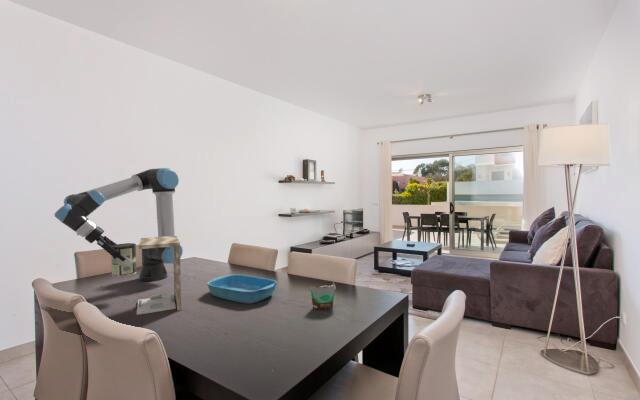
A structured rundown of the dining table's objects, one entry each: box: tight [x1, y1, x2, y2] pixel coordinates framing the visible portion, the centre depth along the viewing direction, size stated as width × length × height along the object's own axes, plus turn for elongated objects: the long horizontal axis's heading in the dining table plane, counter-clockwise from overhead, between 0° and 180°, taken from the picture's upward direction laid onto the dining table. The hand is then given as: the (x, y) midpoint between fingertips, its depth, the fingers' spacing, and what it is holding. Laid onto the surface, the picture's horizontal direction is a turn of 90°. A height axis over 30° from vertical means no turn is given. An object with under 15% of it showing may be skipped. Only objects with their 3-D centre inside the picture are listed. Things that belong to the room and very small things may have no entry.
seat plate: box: [136, 294, 177, 316], centre depth 147 cm, size 15×18×2 cm
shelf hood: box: [138, 235, 182, 312], centre depth 148 cm, size 16×24×30 cm, turn 27°
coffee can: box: [111, 242, 137, 278], centre depth 155 cm, size 10×10×14 cm
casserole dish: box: [206, 273, 277, 304], centre depth 161 cm, size 37×22×7 cm, turn 59°
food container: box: [309, 282, 337, 311], centre depth 142 cm, size 12×6×10 cm, turn 117°
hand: (131, 262), depth 157 cm, fingers closed on coffee can, 10 cm apart
